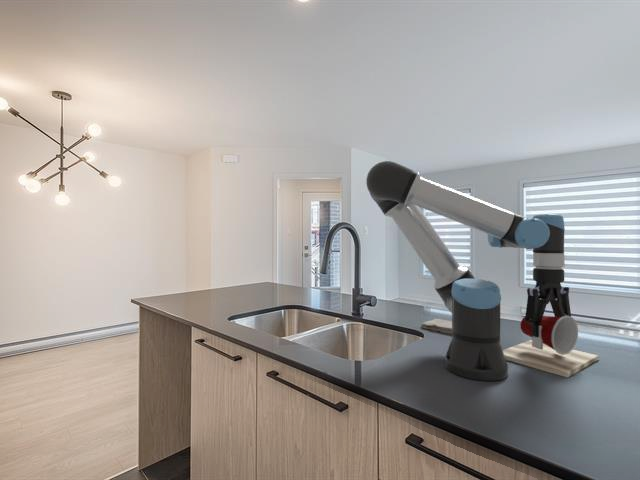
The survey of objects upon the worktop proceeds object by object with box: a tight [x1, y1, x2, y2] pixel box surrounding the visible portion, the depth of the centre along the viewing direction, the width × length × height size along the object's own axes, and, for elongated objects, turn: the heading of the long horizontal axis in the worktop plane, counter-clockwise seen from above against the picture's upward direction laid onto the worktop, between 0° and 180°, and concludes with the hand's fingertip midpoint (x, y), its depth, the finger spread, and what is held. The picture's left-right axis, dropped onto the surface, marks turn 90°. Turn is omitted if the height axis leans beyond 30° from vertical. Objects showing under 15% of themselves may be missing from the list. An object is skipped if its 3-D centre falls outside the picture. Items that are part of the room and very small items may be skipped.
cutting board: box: [502, 339, 600, 378], centre depth 97 cm, size 22×18×1 cm
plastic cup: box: [519, 315, 579, 355], centre depth 97 cm, size 11×11×12 cm
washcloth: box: [420, 318, 452, 336], centre depth 128 cm, size 12×18×3 cm, turn 43°
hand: (548, 346), depth 97 cm, fingers closed on plastic cup, 8 cm apart
